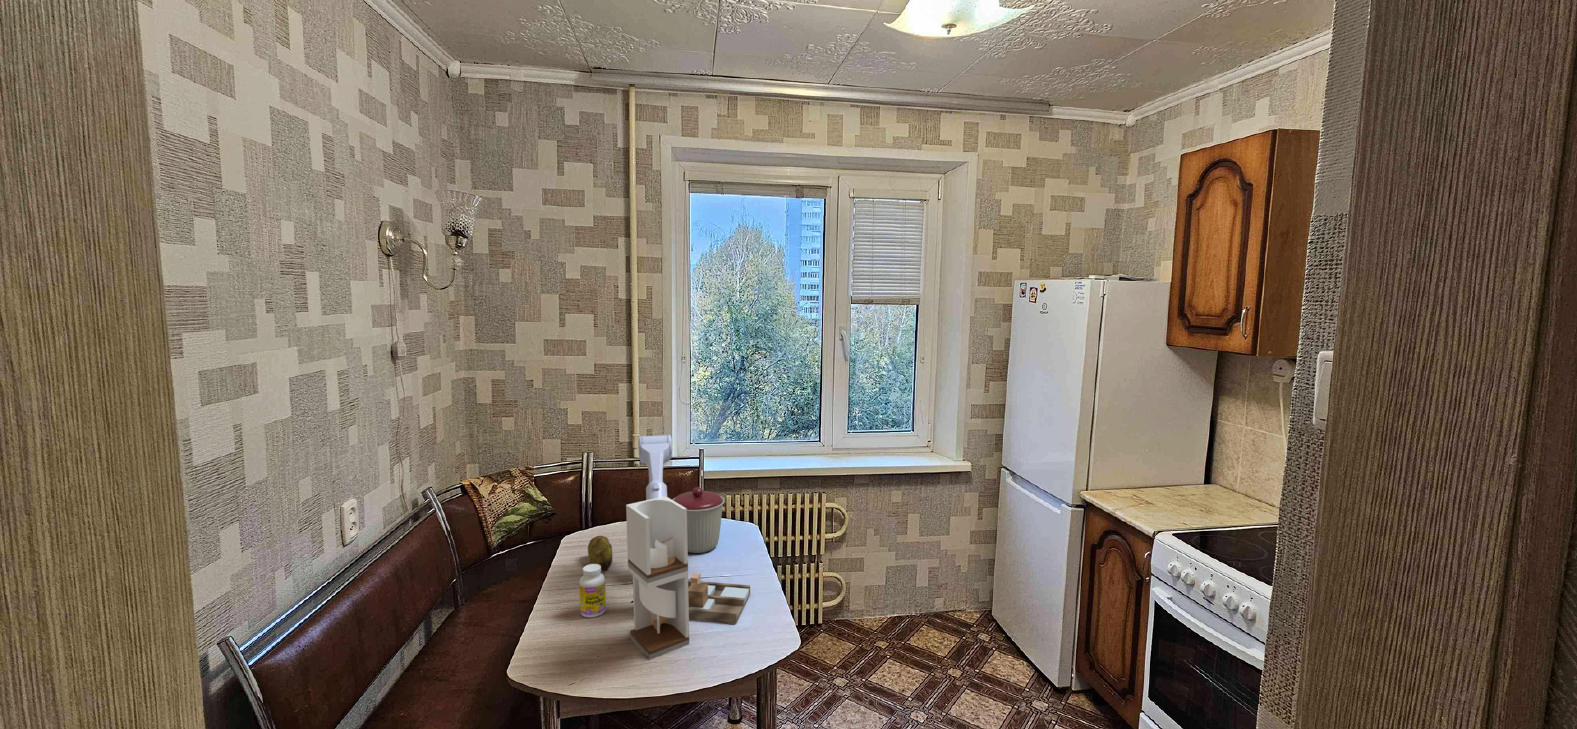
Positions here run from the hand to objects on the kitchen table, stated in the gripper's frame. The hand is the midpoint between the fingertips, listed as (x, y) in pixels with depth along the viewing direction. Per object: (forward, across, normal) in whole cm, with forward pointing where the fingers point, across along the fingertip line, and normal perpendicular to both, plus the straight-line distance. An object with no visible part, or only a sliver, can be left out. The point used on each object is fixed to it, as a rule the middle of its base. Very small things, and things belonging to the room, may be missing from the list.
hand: (659, 596), depth 170 cm
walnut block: (+1, +11, 0) cm, 11 cm away
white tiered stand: (+4, +6, -15) cm, 17 cm away
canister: (+4, -2, +41) cm, 41 cm away
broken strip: (+3, +15, +8) cm, 17 cm away
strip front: (+2, +7, 0) cm, 7 cm away
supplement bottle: (+4, -17, -5) cm, 18 cm away
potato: (+4, -29, +23) cm, 37 cm away
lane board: (+3, +12, +4) cm, 13 cm away
